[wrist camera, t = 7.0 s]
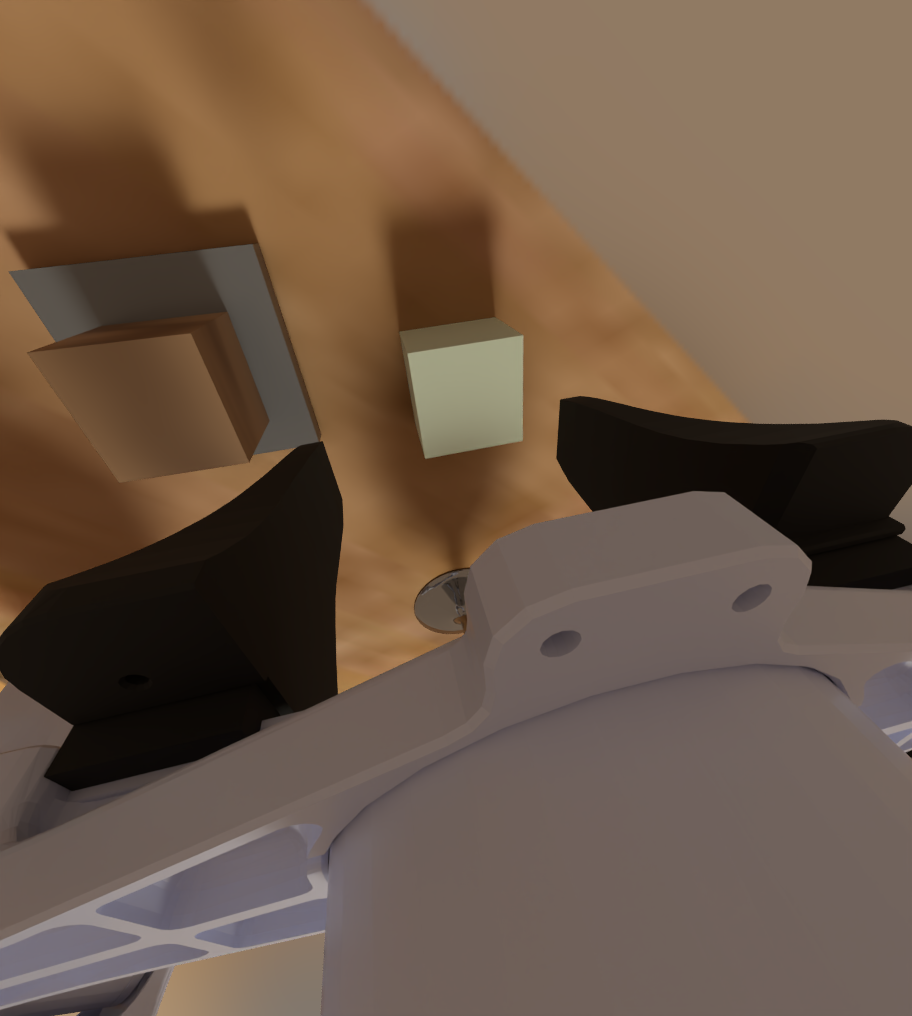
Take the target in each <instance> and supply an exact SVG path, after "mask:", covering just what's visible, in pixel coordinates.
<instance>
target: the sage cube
mask: <svg viewBox="0 0 912 1016" xmlns="http://www.w3.org/2000/svg"><path fill="white" fill-rule="evenodd" d="M399 334H400V339H401V345H402V351H403V357H404V362H405V368H406V374H407V379H408V385H409V391H410V397H411V402H412V408H413V414H414V419H415V425H416V428H417V432H418V435H419V439H420V442H421V446H422V450H423V453H424V457H425V459H428V458H433V457H438V456H444V455H449V454H454V453H460V452H465V451H471V450H476V449H481V448H487V447H492V446H497V445H503V444H508V443H514V442H519V441H523V335H522V334H521V333H519V332H517V331H516V330H514V329H513V328H511V327H510V326H508V325H507V324H505V323H503V322H502V321H500V320H499V319H497V318H496V317H493V318H486V319H480V320H473V321H466V322H460V323H453V324H447V325H440V326H433V327H427V328H420V329H414V330H407V331H400V332H399Z"/></svg>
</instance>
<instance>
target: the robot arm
mask: <svg viewBox="0 0 912 1016" xmlns="http://www.w3.org/2000/svg"><path fill="white" fill-rule="evenodd" d="M556 458H557V460H558V462H559V464H560V466H561V468H562V470H563V472H564V474H565V475H566V477H567V479H568V481H569V482H570V483H571V485H572V486H573V487H574V489H575V490H576V491H577V492H578V494H579V495H580V496H581V498H582V499H583V500H584V501H585V503H586V504H587V505H588V506H589V508H590V509H591V510H592V511H593V512H590V513H585V514H580V515H575V516H570V517H565V518H561V519H556V520H551V521H546V522H541V523H536V524H533V525H530V526H528V527H526V528H523V529H521V530H518V531H516V532H514V533H511V534H509V535H507V536H504V537H502V538H499V539H497V540H496V541H495V542H494V543H493V544H492V545H491V546H490V547H489V548H488V549H487V550H486V551H485V552H484V553H483V554H482V555H481V556H480V557H479V558H478V559H477V560H476V561H475V562H474V563H473V564H472V565H471V566H470V570H469V574H468V578H467V582H466V586H465V591H464V599H465V607H466V614H467V628H466V632H465V634H464V635H463V636H461V637H459V638H457V639H455V640H453V641H451V642H448V643H446V644H444V645H442V646H440V647H438V648H436V649H434V650H431V651H429V652H427V653H425V654H423V655H421V656H419V657H416V658H414V659H412V660H410V661H408V662H406V663H404V664H402V665H399V666H397V667H395V668H393V669H391V670H389V671H387V672H385V673H382V674H380V675H378V676H376V677H374V678H372V679H370V680H368V681H365V682H363V683H361V684H359V685H357V686H355V687H353V688H350V689H348V690H346V691H344V692H342V693H340V694H338V688H337V666H336V629H335V596H336V583H337V575H338V567H339V559H340V551H341V542H342V534H343V503H342V497H341V494H340V491H339V488H338V485H337V482H336V479H335V476H334V473H333V470H332V467H331V464H330V462H329V459H328V456H327V453H326V450H325V447H324V444H323V441H321V442H315V443H310V444H304V445H300V446H299V447H297V448H296V449H294V450H293V451H292V452H291V453H289V454H288V455H287V456H286V457H285V458H284V459H283V460H281V461H280V462H279V463H278V464H277V465H276V466H275V467H273V468H272V469H271V470H270V471H269V472H268V473H267V474H265V475H264V476H263V477H262V478H261V479H259V480H258V481H257V482H255V483H254V484H253V485H252V486H250V487H249V488H248V489H247V490H245V491H244V492H243V493H242V494H240V495H239V496H237V497H236V498H235V499H233V500H232V501H230V502H229V503H227V504H226V505H224V506H223V507H221V508H220V509H218V510H216V511H215V512H213V513H212V514H210V515H208V516H207V517H205V518H203V519H201V520H199V521H197V522H196V523H194V524H192V525H190V526H188V527H186V528H184V529H182V530H181V531H179V532H177V533H175V534H173V535H171V536H169V537H167V538H165V539H163V540H161V541H158V542H156V543H154V544H152V545H150V546H148V547H145V548H143V549H141V550H138V551H136V552H133V553H131V554H129V555H126V556H124V557H121V558H119V559H116V560H114V561H111V562H109V563H106V564H103V565H100V566H98V567H95V568H92V569H89V570H87V571H84V572H81V573H78V574H75V575H73V576H70V577H67V578H64V579H62V580H58V581H55V582H52V583H49V584H47V585H46V586H44V587H43V588H42V590H41V591H40V592H39V593H38V594H37V595H36V596H35V597H34V598H33V600H32V601H31V602H30V603H29V604H28V605H27V606H26V607H25V609H24V610H23V611H22V612H21V613H20V614H19V615H18V616H17V617H16V619H15V620H14V621H13V622H12V623H11V624H10V625H9V626H8V627H7V629H6V630H5V631H4V632H3V633H2V635H1V636H0V671H1V673H2V675H3V676H4V678H5V679H7V680H8V681H9V682H8V684H7V685H6V686H5V687H4V689H3V690H2V691H1V693H0V1016H55V1015H62V1014H68V1013H75V1012H80V1013H79V1014H78V1015H77V1016H156V1014H157V1012H158V1009H159V1006H160V1003H161V1001H162V998H163V995H164V992H165V990H166V987H167V984H168V982H169V979H170V976H171V974H172V972H173V969H174V967H175V966H176V965H180V964H185V963H189V962H194V961H198V960H203V959H207V958H212V957H216V956H221V955H225V954H230V953H234V952H239V951H243V950H248V949H252V948H257V947H261V946H266V945H270V944H275V943H279V942H284V941H288V940H293V939H297V938H302V937H306V936H311V935H315V934H320V933H324V932H325V945H324V964H323V982H322V1000H321V1016H912V759H911V758H910V757H909V756H908V755H907V754H906V753H905V752H907V751H910V750H912V544H911V543H909V542H907V541H905V540H904V539H902V538H900V537H899V536H897V535H899V534H902V533H903V532H904V530H905V526H904V524H902V523H900V522H898V521H896V520H894V519H893V518H891V517H889V515H890V513H891V512H892V511H893V509H894V508H895V506H896V505H897V504H898V502H899V501H900V500H901V498H902V497H903V496H904V494H905V493H906V492H907V490H908V489H909V487H910V486H911V485H912V426H910V425H907V424H905V423H902V422H899V421H895V420H870V421H855V422H838V423H824V424H753V423H734V422H721V421H711V420H702V419H694V418H687V417H680V416H674V415H669V414H664V413H659V412H654V411H649V410H645V409H640V408H636V407H632V406H628V405H624V404H620V403H615V402H611V401H607V400H603V399H598V398H592V397H585V396H578V397H572V398H566V399H561V400H560V411H559V427H558V442H557V457H556Z"/></svg>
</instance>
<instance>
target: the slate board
mask: <svg viewBox="0 0 912 1016" xmlns="http://www.w3.org/2000/svg"><path fill="white" fill-rule="evenodd" d="M9 273H10V274H11V276H12V277H13V279H14V280H15V282H16V283H17V285H18V286H19V288H20V289H21V291H22V292H23V294H24V295H25V297H26V298H27V300H28V301H29V303H30V304H31V306H32V307H33V309H34V310H35V312H36V313H37V315H38V316H39V318H40V319H41V321H42V322H43V324H44V325H45V327H46V328H47V330H48V331H49V333H50V334H51V335H52V337H53V338H54V340H55V341H56V342H58V341H61V340H64V339H66V338H69V337H72V336H75V335H78V334H80V333H83V332H86V331H89V330H92V329H94V328H97V327H100V326H105V325H114V324H123V323H132V322H141V321H150V320H158V319H167V318H176V317H185V316H194V315H203V314H211V313H220V312H228V314H229V317H230V320H231V322H232V325H233V327H234V330H235V333H236V335H237V338H238V340H239V343H240V345H241V348H242V351H243V353H244V356H245V358H246V361H247V363H248V366H249V369H250V371H251V374H252V376H253V379H254V382H255V384H256V387H257V389H258V392H259V394H260V397H261V400H262V402H263V405H264V407H265V410H266V413H267V415H268V418H269V420H270V421H269V423H268V425H267V427H266V429H265V431H264V433H263V435H262V437H261V439H260V442H259V444H258V446H257V448H256V450H255V452H254V454H253V455H255V454H261V453H267V452H273V451H279V450H284V449H290V448H296V447H299V446H300V445H304V444H310V443H315V442H320V438H321V433H320V430H319V427H318V424H317V421H316V418H315V415H314V412H313V408H312V405H311V402H310V399H309V396H308V393H307V390H306V387H305V384H304V381H303V378H302V375H301V372H300V369H299V366H298V363H297V360H296V357H295V354H294V351H293V347H292V344H291V341H290V338H289V335H288V332H287V329H286V326H285V323H284V320H283V317H282V314H281V311H280V308H279V305H278V302H277V299H276V296H275V293H274V290H273V286H272V283H271V280H270V277H269V274H268V271H267V268H266V265H265V262H264V259H263V256H262V253H261V250H260V247H259V244H258V243H257V244H248V245H239V246H231V247H222V248H213V249H204V250H195V251H186V252H177V253H169V254H160V255H151V256H142V257H133V258H124V259H116V260H107V261H98V262H89V263H80V264H71V265H63V266H54V267H45V268H36V269H27V270H18V271H10V272H9Z"/></svg>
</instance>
